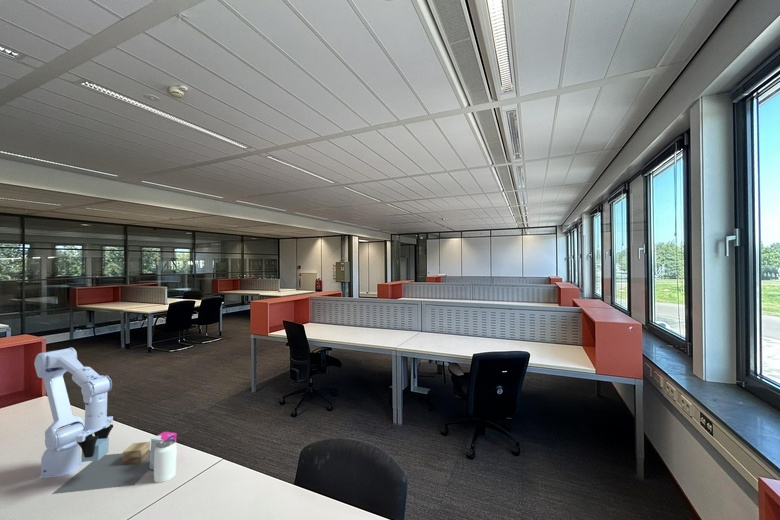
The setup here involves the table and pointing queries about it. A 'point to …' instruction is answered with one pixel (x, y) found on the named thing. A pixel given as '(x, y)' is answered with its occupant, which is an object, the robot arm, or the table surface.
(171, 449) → the can
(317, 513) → the table surface
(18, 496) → the table surface
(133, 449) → the slab upper
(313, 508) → the table surface
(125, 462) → the slab lower
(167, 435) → the supplement box
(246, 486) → the table surface
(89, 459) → the cube
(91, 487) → the mat
